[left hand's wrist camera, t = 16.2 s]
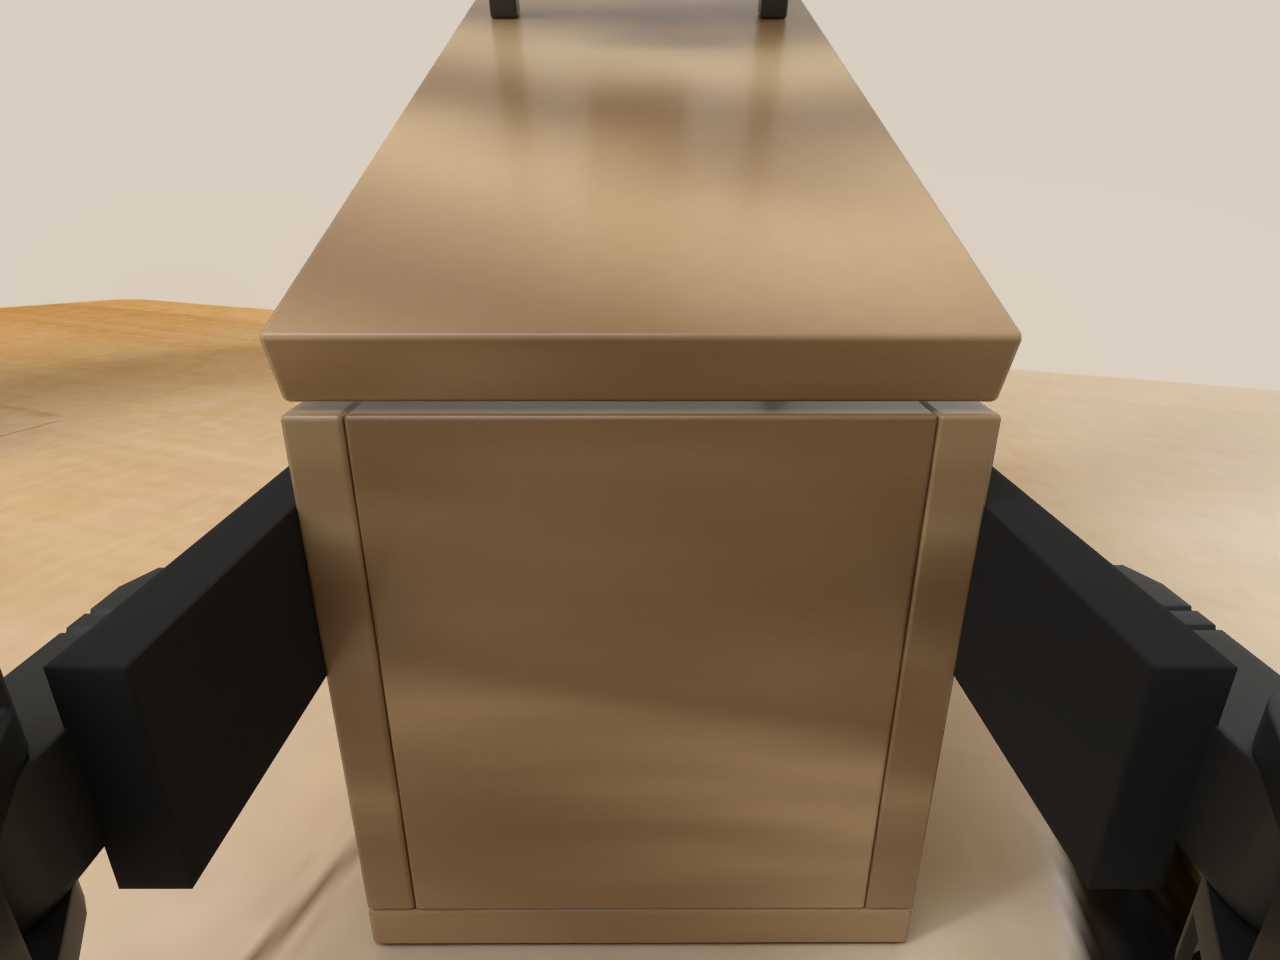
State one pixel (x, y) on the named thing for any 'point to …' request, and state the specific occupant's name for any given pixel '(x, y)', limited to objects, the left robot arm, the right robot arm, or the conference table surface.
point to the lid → (639, 227)
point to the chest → (640, 658)
